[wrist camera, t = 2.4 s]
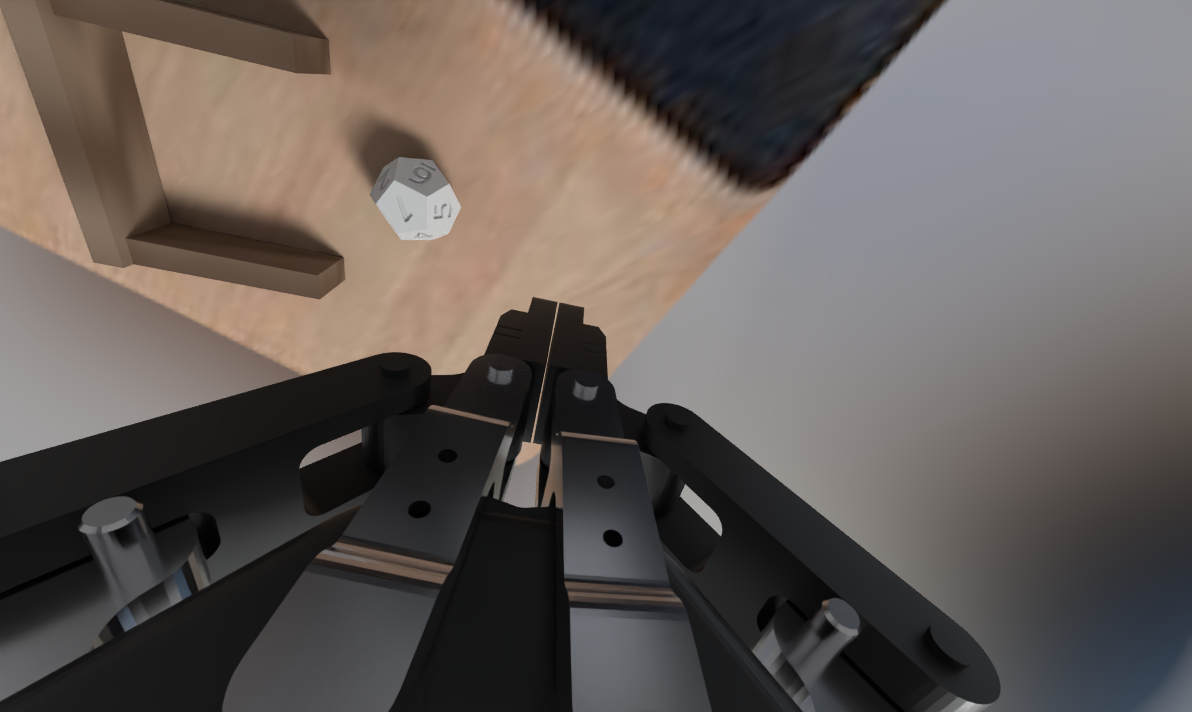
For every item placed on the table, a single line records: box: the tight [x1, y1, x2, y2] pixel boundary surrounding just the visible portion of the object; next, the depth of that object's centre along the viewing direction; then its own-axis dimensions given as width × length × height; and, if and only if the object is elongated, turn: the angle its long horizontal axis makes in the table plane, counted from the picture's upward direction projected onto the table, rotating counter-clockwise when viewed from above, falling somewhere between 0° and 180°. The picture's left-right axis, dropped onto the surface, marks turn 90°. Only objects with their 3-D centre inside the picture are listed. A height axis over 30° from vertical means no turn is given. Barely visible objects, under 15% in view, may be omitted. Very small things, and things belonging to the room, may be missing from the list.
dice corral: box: [0, 0, 345, 299], centre depth 19 cm, size 10×9×3 cm
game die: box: [370, 157, 461, 240], centre depth 20 cm, size 4×4×3 cm
